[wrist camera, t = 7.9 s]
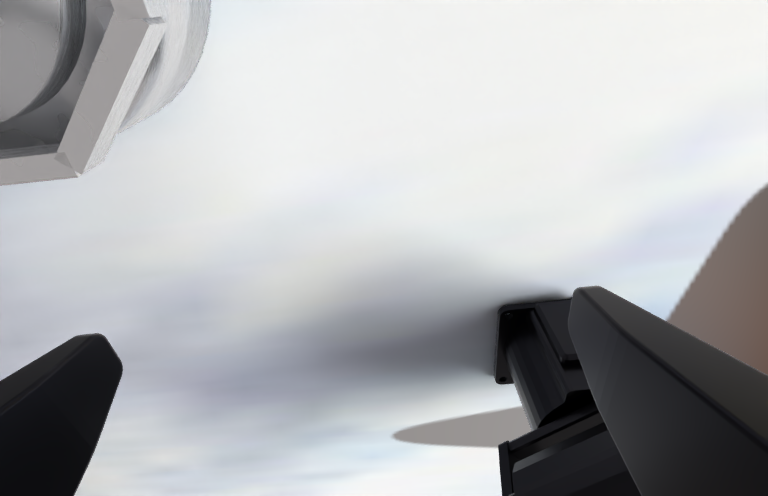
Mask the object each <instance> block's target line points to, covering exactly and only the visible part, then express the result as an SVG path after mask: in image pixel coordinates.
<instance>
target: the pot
mask: <svg viewBox="0 0 768 496" xmlns="http://www.w3.org/2000/svg"><path fill="white" fill-rule="evenodd" d="M210 12H211V0H86V28H85V35H84V42H83V46H82V49H81V52H80V56H79V59H78V62H77V64H76V66H75V68H74V70H73V72H72V74H71V76H70V78H69V79H68V81H67V82H66V83H65V85H64V86H63V87H62V88H61V90H60V91H59V92H58V93H57V94H56V95H55V96H54V97H53V98H51V99H50V100H49V101H48V102H47V103H46V104H44V105H42V106H41V107H39V108H37V109H35V110H34V111H32V112H30V113H28V114H25V115H22V116H19V117H16V118H13V119H11V120H8V121H5V122H2V123H0V186H2V185H11V184H20V183H30V182H39V181H48V180H57V179H67V178H76V177H79V176H81V175H82V174H84V173H86V172H87V171H89V170H90V169H92V168H94V167H95V166H97V165H98V164H100V163H102V162H103V161H104V160H105V157H106V155H107V153H108V151H109V149H110V147H111V145H112V143H113V140H114V138H115V136H116V135H117V134H119V133H121V132H122V131H124V130H126V129H128V128H130V127H131V126H133V125H135V124H137V123H139V122H141V121H142V120H144V119H146V118H148V117H150V116H152V115H153V114H155V113H157V112H159V111H160V110H161V109H162V108H164V107H165V106H166V105H168V104H169V103H170V102H171V101H172V100H173V99H174V98H175V97H176V96H177V95H178V94H179V93H180V92H181V90H182V89H183V88H184V87H185V85H186V84H187V82H188V81H189V79H190V78H191V76H192V74H193V73H194V71H195V69H196V67H197V64H198V62H199V60H200V57H201V55H202V53H203V49H204V45H205V41H206V38H207V34H208V28H209V20H210Z"/></svg>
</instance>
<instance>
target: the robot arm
mask: <svg viewBox="0 0 768 496" xmlns="http://www.w3.org/2000/svg"><path fill="white" fill-rule="evenodd" d="M507 313H510V314H508V315H505V314H507ZM122 372H123V366H122V362H121V360H120V359H119V357H118V356H117V354H116V352H115V351H114V349H113V348H112V346H111V345H110V343H109V342H108V340H107V338H106V337H105V336H103V335H102V334H98V333H94V334H84V335H78V336H75V337H73V338H72V339H70V340H68V341H67V342H65V343H63V344H62V345H60V346H58V347H57V348H55V349H53V350H51V351H50V352H48V353H46V354H45V355H43V356H41V357H40V358H38V359H36V360H35V361H33V362H31V363H30V364H28V365H26V366H25V367H23V368H21V369H20V370H18V371H16V372H15V373H13V374H11V375H10V376H8V377H6V378H5V379H3V380H1V381H0V496H74V495H75V493H76V490H77V488H78V486H79V484H80V482H81V480H82V478H83V475H84V473H85V471H86V469H87V467H88V465H89V462H90V460H91V458H92V456H93V453H94V451H95V448H96V446H97V443H98V441H99V438H100V435H101V432H102V430H103V427H104V424H105V421H106V418H107V416H108V413H109V410H110V407H111V404H112V402H113V399H114V396H115V393H116V390H117V388H118V385H119V382H120V379H121V376H122ZM494 378H495V381H496V383H498V384H513V383H514V384H515V387H516V390H517V392H518V395H519V398H520V401H521V403H522V406H523V409H524V411H525V414H526V417H527V419H528V422H529V425H530V428H531V430H532V431H531V432H529V433H527V434H525V435H522V436H520V437H518V438H516V439H514V440H512V441H510V442H509V441H506V442H504V443H502V444H499V446H498V448H499V460H500V462H499V463H500V475H501V486H502V496H768V375H766V374H764V373H762V372H761V371H759V370H757V369H755V368H753V367H751V366H749V365H747V364H746V363H743V362H742V361H740V360H738V359H736V358H734V357H732V356H730V355H729V354H727V353H725V352H723V351H721V350H719V349H717V348H715V347H714V346H712V345H710V344H708V343H706V342H704V341H702V340H700V339H698V338H696V337H695V336H693V335H691V334H689V333H687V332H685V331H683V330H681V329H680V328H678V327H676V326H674V325H672V324H670V323H668V322H667V321H665V320H663V319H661V318H659V317H657V316H655V315H653V314H651V313H650V312H648V311H646V310H644V309H642V308H640V307H638V306H636V305H635V304H633V303H631V302H629V301H627V300H625V299H623V298H621V297H619V296H618V295H616V294H614V293H612V292H610V291H608V290H606V289H604V288H602V287H600V286H589V287H579V288H577V289H575V291H574V293H573V296H572V299H570V300H559V301H548V302H538V303H527V304H517V305H507V306H503V307H501V308H500V309H499V311H498V319H497V334H496V350H495V365H494Z"/></svg>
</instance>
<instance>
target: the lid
mask: <svg viewBox="0 0 768 496" xmlns="http://www.w3.org/2000/svg"><path fill="white" fill-rule="evenodd" d="M85 28H86V0H0V123H2V122H5V121H8V120H11V119H13V118H16V117H19V116H22V115H25V114H28V113H30V112H32V111H34V110H35V109H37V108H39V107H41V106H42V105H44V104H46V103H47V102H48V101H49V100H50V99H51V98H53V97H54V96H55V95H56V94H57V93H58V92H59V91H60V90H61V88H62V87H63V86H64V85H65V83H66V82H67V81H68V79H69V78H70V76H71V74H72V72H73V70H74V68H75V66H76V64H77V62H78V59H79V56H80V52H81V49H82V46H83V42H84V35H85Z"/></svg>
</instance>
